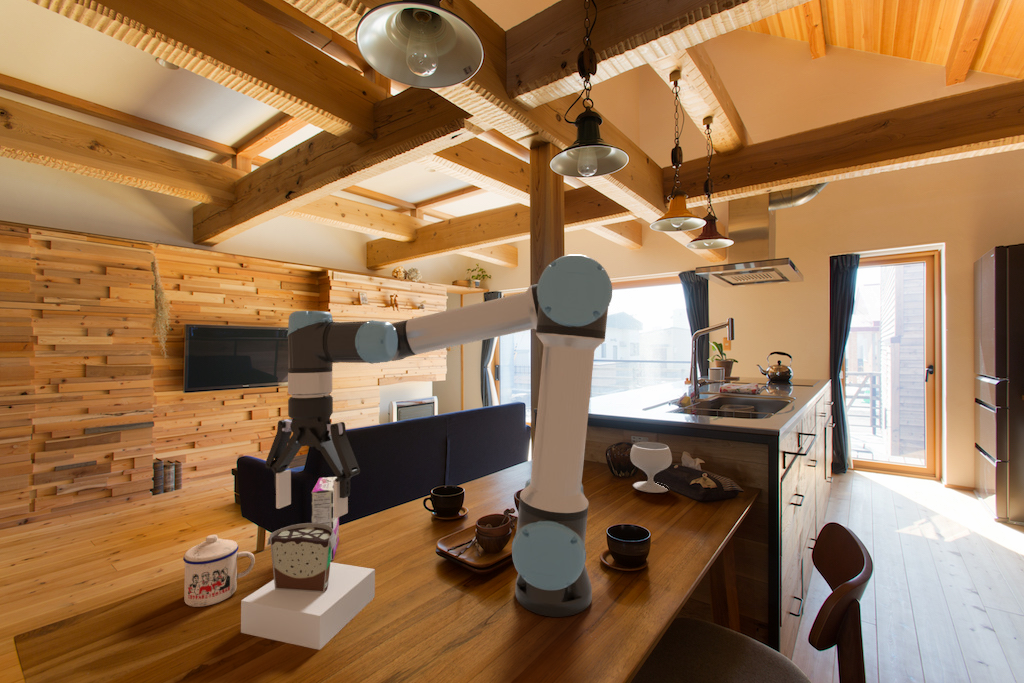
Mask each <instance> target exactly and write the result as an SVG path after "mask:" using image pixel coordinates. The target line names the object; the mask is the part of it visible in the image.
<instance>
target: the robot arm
mask: <svg viewBox="0 0 1024 683" xmlns="http://www.w3.org/2000/svg"><path fill="white" fill-rule="evenodd" d="M612 297H613V284H612V281H611V279H610V275H609V274H608V272H607V271H606V269H605V268H604V266H602V264H601V263H599V262H598V261H597V260H596V259H593V258H592V257H589V256H588V255H584V254H577V253H576V254H573V253H572V254H567V255H563V256H560V257H558V258H557V259H554V260H553V261H552V262H550V263H549V264H548V265H547V266H545V269H544V270H543V271H542V273H541V274H540V278H539V279H538V282H537V283H536V284H532V285H529V286H528V288H527V289H526V291H524V292H521V293H517V294H511V295H507V296H503V297H499V298H495V299H490V300H486V301H481V302H477V303H473V304H469V305H466V306H460V307H456V308H453V309H449V310H444V311H439V312H435V313H431V314H427V315H422V316H418V317H414V318H410V319H406V320H402V321H401V320H400V321H396V322H392V323H391V322H389V321H383V320H382V321H380V320H365V321H334V319H333V315H332V313H331V312H329V311H325V310H324V311H322V310H321V311H320V310H299V311H298V310H297V311H293V312H291V313H290V315H288V326H287V334H286V338H287V350H288V351H287V352H288V371H287V394H288V395H290V397H289V398H288V399H287V400H288V401H287V406H288V408H287V410H288V411H287V414H288V415H287V416H288V417H289V418H286V419H281V420H278V422H277V429H276V434H275V437H274V438H273V439H274V440H273V442H272V444H271V448H270V450H269V452H268V455H267V458H266V461H265V462H264V466H265V468H266V469H271V471H272V472H273V477H274V478H273V482H274V483H273V484H274V485H273V486H274V489H275V494H276V495H275V508H276V509H279V510H280V509H282V508H285V507H287V506H289V505H291V504H292V469H290V468H291V467H290V464H291V463H292V461H293V460H294V459H295V457H296V456H297V455H298V453H299V451H300V450H301V448H302V447H305V446H307V447H309V448H315V449H316V450H317V451H320V453H321V454H322V456H323V458H324V460H325V461H326V463H327V464H328V466H329V468H330V469H331V470H332V472H333V474H334V475H335V477H337V479H336V480H334V518H338V517H339V518H340V517H342V516H344V515H346V514H348V512H349V505H348V504H349V502H348V501H349V498H348V497H350V495H351V478H352V477H355V476H357V475H359V474H361V468H360V467H359V463H358V461H357V458H356V456H355V453H354V450H353V449H352V446H351V443H350V441H349V438H348V436H347V431H346V430H347V429H346V423H345V422H344V421H340V422H336V423H332V422H331V416H332V415H333V412H334V409H333V408H334V407H333V406H334V404H333V402H334V401H333V400H334V397H333V396H332V395H330V394H331V393H332V392H333V366H334V364H336V363H337V364H338V363H339V364H340V363H348V364H349V363H351V364H352V363H355V364H356V363H357V364H358V363H359V364H361V363H362V364H366V363H367V364H373V365H374V364H380V363H388V362H391V361H392V362H395V361H401V360H404V359H405V358H408V357H413V356H416V355H421V354H425V353H430V352H434V351H439V350H440V351H441V350H443V349H448V348H452V347H457V346H461V345H462V346H463V345H465V344H471V343H475V342H479V341H480V342H481V341H484V340H490V339H493V338H497V337H503V336H506V335H507V336H508V335H511V334H515V333H520V332H525V331H530V330H533V329H534V330H535V335H536V337H538V339H539V341H541V343H542V346H543V350H542V358H541V368H540V369H541V370H540V379H539V380H540V381H539V393H538V401H537V409H536V410H537V411H536V420H535V421H536V422H535V423H536V424H535V432H534V442H533V452H532V461H531V463H532V464H531V472H530V478H528V479H527V480H526V481H525V486H524V488H523V489H522V490H521V491H520V493H519V503H518V514H517V523H516V529H515V530H516V532H515V535H514V537H513V540H512V542H511V556H512V562H513V565H514V568H515V570H516V572H517V573H518V574H517V576H516V579H515V598H516V600H517V602H518V603H519V605H520V606H522V607H523V608H524V609H526V610H527V611H530V612H531V613H534V614H537V615H539V616H545V617H551V618H552V617H555V618H558V617H559V618H563V617H569V616H570V617H571V616H574V615H577V614H579V613H581V612H583V611H585V610H586V609H587V608H588V607H590V605H591V603H592V599H593V598H592V596H593V593H592V592H593V589H592V582H591V580H590V576H589V573H588V570H587V566H586V560H587V550H586V535H587V534H586V533H587V524H588V523H587V522H588V516H589V515H588V513H589V505H590V504H589V500H588V499H587V498H586V496H585V494H584V485H583V484H582V479H583V471H584V462H585V461H584V460H585V452H586V450H585V449H586V441H587V433H588V432H587V429H588V421H589V410H590V408H589V407H590V401H591V400H590V399H591V391H592V389H591V388H592V381H593V380H592V379H593V370H594V359H595V358H594V357H595V351H596V349H597V348H598V347H599V346H601V345H602V344H603V343H604V342H605V341H606V340H605V339H606V332H607V331H606V330H607V321H608V313H609V312H608V311H609V307H610V303H611V302H612Z"/></svg>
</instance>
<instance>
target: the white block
mask: <svg viewBox="0 0 1024 683" xmlns="http://www.w3.org/2000/svg"><path fill="white" fill-rule="evenodd" d="M375 593H376V569H375V568H369V567H362V566H356V565H351V564H345V563H338V562H333V561H331V562H330V572H329V582H328V588H327V590H326V591H325V593H318V592H303V591H288V590H275V584H274V579H272V580H271V581H269V582H267V583H266V584H264V585H263V586H262V587H260V588H259V589H257V590H255V591H253V592H252V593H250V594H248V595H247V596H246V597H244V598H243V599H241V603H240V633H241V634H246V635H251V636H255V637H259V638H262V639H263V638H264V639H268V640H272V641H277V642H278V641H279V642H283V643H287V644H292V645H296V646H299V647H300V646H301V647H305V648H309V649H314V650H317V651H318V650H319V651H320V650H321V649H323V648H324V647H325V645H327V644H328V643H329V642H330V641H331V640H332V639H333V638H334V637H335V636H336V635H337V634H338V633H340V631H341V630H343V628H344V627H345V626H346V625H347V624H349V622H351V621H352V620H353V619H354V618H355V617H356V616H357V615H358V614H359V613H361V611H362V610H363V609H364V608H365V607H366V606H368V605H369V604H370V603H371V602H372V601H373V600H374V599H373V598H374V597H375V596H376V594H375Z"/></svg>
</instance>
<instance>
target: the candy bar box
mask: <svg viewBox="0 0 1024 683" xmlns="http://www.w3.org/2000/svg"><path fill="white" fill-rule="evenodd" d="M336 479H337V477H336V476H328V477H319V478H318V480H317V482H316V484H315V485H314V487H313V489H312V491H311V523H321V524H326V525H328V526H330V527H331V528H332V529H333V531H334V533H335V538H336V545H335V546H334V548H333V549H332V552H331V562H333V561H334V560H335V555H336V552H337V549H338V545H339V543H340V517H338V518H334V480H336Z"/></svg>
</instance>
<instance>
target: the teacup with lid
mask: <svg viewBox="0 0 1024 683" xmlns="http://www.w3.org/2000/svg"><path fill="white" fill-rule="evenodd" d="M238 550H239V544H238V543H237V542H236V541H235V540H232V539H227V538H226V539H224V538H220V537H218V535H217V534H209V535H207V536H206V538H205V540H204V541H202V542H200V543H198V544H196V545H194V546H192V547H191V548H188V550H187V551H186V552H185V553H184V555H183V558H182V559H183V560H182V561H183V562H184V586H183V587H184V589H183V590H184V592H183V593H184V594H183V595H184V596H183V597H184V600H183V602H185V604H186V605H188V606H189V607H194V608H196V607H197V608H199V607H200V608H201V607H202V608H203V607H207V606H212V605H216V604H218V603H220V602H222V601H225V600H226V599H229V598H230V597H231V596H232V595H234V593H235V592H236V590H237V588H238V587H237V586H238V584H237V583H238V582H237V580H238V579H241V578H244V577H246V576H247V575H249V574H250V572H251V571H252V570H253V568H254V566H255V562H256V560H255V559H256V558H255V555H254V553H252V552H251V551H246V550H245V551H244V550H243V551H239V552H238ZM241 557H247V558H249V559H250V564H249V566H248V567H247V569H245V570H243V571H242V572H238V558H241ZM237 572H238V573H237ZM194 575H195V576H194Z"/></svg>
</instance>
